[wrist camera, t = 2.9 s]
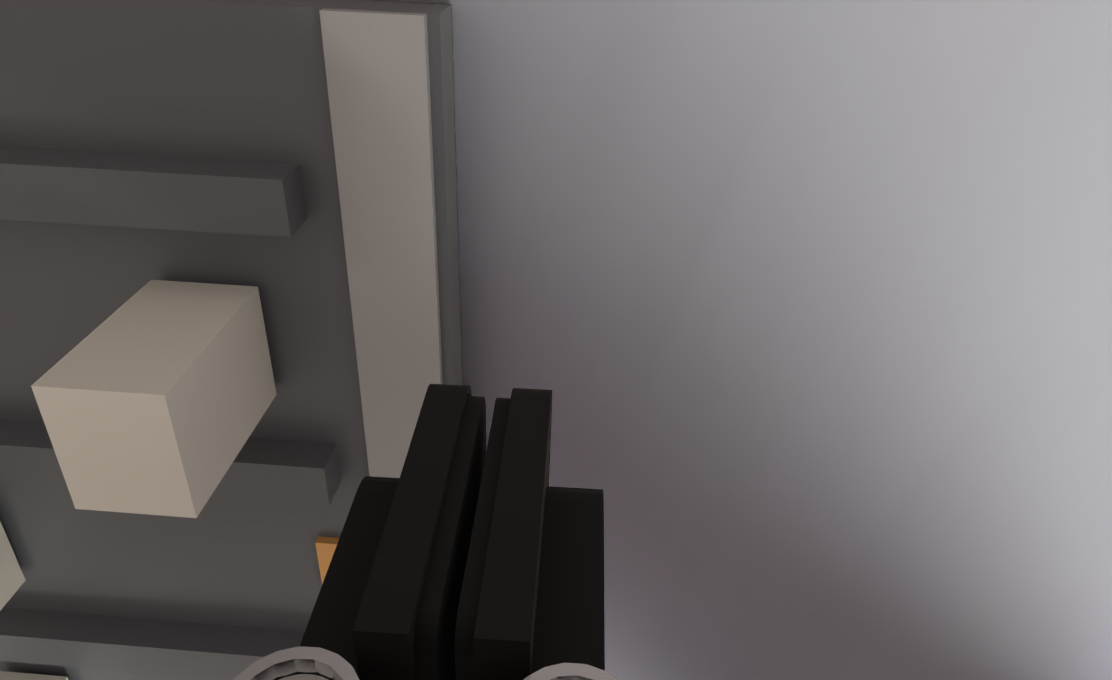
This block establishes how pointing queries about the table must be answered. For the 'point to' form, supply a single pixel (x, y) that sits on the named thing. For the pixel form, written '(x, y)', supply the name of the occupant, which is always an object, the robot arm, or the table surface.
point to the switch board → (219, 258)
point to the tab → (159, 398)
